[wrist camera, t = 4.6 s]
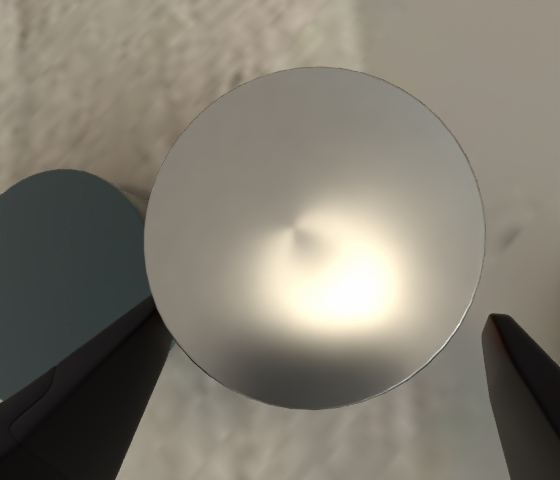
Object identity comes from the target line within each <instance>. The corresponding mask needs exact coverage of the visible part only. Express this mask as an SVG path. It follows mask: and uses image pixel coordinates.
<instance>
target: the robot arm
mask: <svg viewBox="0 0 560 480" xmlns="http://www.w3.org/2000/svg"><path fill="white" fill-rule="evenodd" d="M172 341H173V337H172V335H171V334H170V332H169V331H168V329H167V328H166V326H165V324H164V322H163V320H162V318H161V316H160V314H159V312H158V310H157V307H156V304H155V302H154V299H153V296H152V294H151V295H150V296H149V297H147V298H146V299H145V300H143V301H142V302H140V303H139V304H138V305H136V306H135V307H134V308H132V309H131V310H130V311H128V312H127V313H126V314H124V315H123V316H121V317H120V318H119V319H117V320H116V321H115V322H113V323H112V324H111V325H109V326H108V327H107V328H105V329H104V330H102V331H101V332H100V333H98V334H97V335H96V336H94V337H93V338H92V339H90V340H89V341H88V342H86V343H85V344H83V345H82V346H81V347H79V348H78V349H77V350H75V351H74V352H73V353H71V354H70V355H69V356H67V357H66V358H64V359H63V360H62V361H60V362H59V363H58V364H57V366H53V367H52V368H51V369H49V370H48V371H47V372H45V373H44V374H43V375H41V376H40V377H38V378H37V379H36V380H34V381H33V382H31V383H30V384H29V385H27V386H26V387H24V388H23V389H21V390H20V391H18V392H17V393H15V394H14V395H12V396H11V397H9V398H8V399H6V400H5V401H3V402H2V403H0V480H115V479H116V477H117V474H118V472H119V470H120V467H121V465H122V463H123V460H124V458H125V456H126V453H127V451H128V448H129V446H130V444H131V441H132V439H133V437H134V434H135V432H136V430H137V427H138V425H139V423H140V420H141V418H142V416H143V413H144V411H145V408H146V406H147V404H148V401H149V399H150V397H151V394H152V392H153V390H154V387H155V385H156V383H157V380H158V378H159V375H160V373H161V371H162V368H163V366H164V364H165V361H166V359H167V356H168V353H169V350H170V347H171V344H172ZM482 347H483V354H484V362H485V369H486V376H487V384H488V391H489V397H490V402H491V406H492V410H493V414H494V418H495V421H496V425H497V429H498V433H499V437H500V440H501V444H502V448H503V452H504V456H505V459H506V463H507V467H508V471H509V475H510V479H511V480H560V367H559V366H558V365H557V364H556V363H555V362H554V361H553V360H552V359H551V358H550V357H549V356H548V355H547V354H546V352H545V351H544V350H543V349H542V348H541V347H540V346H539V345H538V344H537V343H536V342H535V341H534V340H533V339H532V338H531V337H530V336H529V335H528V334H527V333H526V332H525V331H524V330H523V329H522V328H521V327H520V326H519V325H518V324H517V323H516V321H515V320H514V319H513V318H512V317H510V316H509V315H506V314H495V313H492V314H490V315H489V316H488V319H487V321H486V324H485V327H484V329H483V332H482Z"/></svg>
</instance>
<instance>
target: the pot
mask: <svg viewBox="0 0 560 480" xmlns="http://www.w3.org/2000/svg"><path fill="white" fill-rule="evenodd" d="M147 206H148V201H147V200H145V199H142V198H139V197H137V196H134V195H131V194H128V193H126V192H124V191H122V190H121V189H120V188H118V187H117V186H116V185H114V184H113V183H111V182H109V181H107V180H105V179H103V178H101V177H99V176H96V175H93V174H90V173H87V172H84V171H79V170H73V169H57V170H50V171H45V172H41V173H38V174H35V175H32V176H30V177H28V178H26V179H23V180H21V181H20V182H18V183H17V184H15V185H13V186H12V187H10V188H9V189H8V190H7V191H5V192H4V193H3V194H2V195H0V399H1V400H3V401H5V400H6V399H8V398H9V397H11V396H12V395H14V394H15V393H17V392H18V391H20V390H21V389H23V388H24V387H26V386H27V385H29V384H30V383H31V382H33V381H34V380H36V379H37V378H38V377H40V376H41V375H43V374H44V373H45V372H47V371H48V370H49V369H51V368H52V367H53V366H57V364H58V363H59V362H60V361H62V360H63V359H64V358H66V357H67V356H69V355H70V354H71V353H73V352H74V351H75V350H77V349H78V348H79V347H81V346H82V345H83V344H85V343H86V342H88V341H89V340H90V339H92V338H93V337H94V336H96V335H97V334H98V333H100V332H101V331H102V330H104V329H105V328H107V327H108V326H109V325H111V324H112V323H113V322H115V321H116V320H117V319H119V318H120V317H121V316H123V315H124V314H126V313H127V312H128V311H130V310H131V309H132V308H134V307H135V306H136V305H138V304H139V303H140V302H142V301H143V300H145V299H146V298H147V297H149V296H150V295H151V294H152V293H151V291H150V286H149V282H148V278H147V273H146V267H145V258H144V226H145V218H146V210H147ZM175 343H176V341H175V340H174V338H173V341H172V344H171V347H170V350H171V349H172V347H173V346H174V344H175ZM170 350H169V351H170Z"/></svg>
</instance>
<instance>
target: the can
mask: <svg viewBox="0 0 560 480" xmlns="http://www.w3.org/2000/svg"><path fill="white" fill-rule="evenodd" d="M485 240H486V225H485V216H484V207H483V201H482V197H481V193H480V190H479V186H478V182H477V179H476V176H475V174H474V172H473V169H472V167H471V165H470V162H469V160H468V158H467V156H466V154H465V153H464V151H463V149H462V148H461V146H460V144H459V143H458V141H457V139H456V138H455V136H454V135H453V134H452V133H451V131H450V130H449V129H448V128H447V127H446V125H445V124H444V123H443V122H442V121H441V119H440V118H439V117H438V116H437V115H435V114H434V113H433V112H432V111H431V110H430V109H429V108H428V107H427V106H426V105H425V104H423V103H422V102H421V101H419V100H418V99H416V98H415V97H413V96H412V95H411V94H409V93H408V92H406V91H405V90H403V89H401V88H399V87H397V86H395V85H393V84H391V83H389V82H387V81H385V80H383V79H380V78H377V77H374V76H371V75H368V74H365V73H362V72H357V71H352V70H347V69H343V68H331V67H306V68H295V69H290V70H284V71H278V72H275V73H272V74H269V75H265V76H262V77H259V78H256V79H254V80H252V81H250V82H247V83H245V84H243V85H240V86H238V87H237V88H235V89H233V90H232V91H230V92H228V93H227V94H225V95H223V96H222V97H220V98H219V99H218V100H216V101H215V102H214V103H212V104H211V105H210V106H208V107H207V108H206V109H205V110H204V111H203V112H202V113H200V114H199V115H198V116H197V117H196V118H195V119H194V120H193V121H192V122H191V123H190V124H189V126H188V127H187V128H186V129H185V130H184V132H183V133H182V134H181V135H180V136H179V138H178V139H177V140H176V142H175V144H174V145H173V147H172V148H171V150H170V151H169V153H168V154H167V156H166V158H165V160H164V162H163V164H162V166H161V168H160V170H159V172H158V174H157V177H156V180H155V182H154V185H153V188H152V190H151V194H150V198H149V202H148V206H147V210H146V218H145V226H144V258H145V267H146V273H147V278H148V282H149V286H150V291H151V293H152V296H153V299H154V302H155V304H156V307H157V310H158V312H159V314H160V316H161V318H162V320H163V322H164V324H165V326H166V328H167V329H168V331H169V332H170V334H171V335H172V337H173V338H174V340H175V341H176V342H177V344H178V345H179V347H180V348H181V349H182V350H183V351H184V352H185V353H186V354H187V356H188V357H189V358H190V359H191V360H192V361H193V362H194V363H195V364H196V365H197V366H198V367H200V368H201V369H202V370H203V371H204V372H205V373H206V374H208V375H209V376H210V377H212V378H213V379H215V380H216V381H218V382H219V383H221V384H222V385H224V386H225V387H227V388H229V389H231V390H233V391H235V392H237V393H239V394H241V395H243V396H245V397H247V398H250V399H253V400H256V401H259V402H262V403H265V404H268V405H273V406H278V407H284V408H289V409H304V410H321V409H331V408H340V407H344V406H349V405H353V404H357V403H361V402H364V401H367V400H369V399H372V398H374V397H377V396H380V395H382V394H385V393H387V392H389V391H390V390H392V389H394V388H396V387H397V386H399V385H401V384H403V383H404V382H406V381H408V380H409V379H410V378H412V377H413V376H414V375H415V374H417V373H418V372H419V371H421V370H422V369H423V368H424V367H426V366H427V365H428V364H429V363H430V362H431V361H432V360H433V359H434V358H435V357H436V356H437V355H438V354H439V353H440V352H441V351H442V350H443V349H444V347H445V346H446V345H447V344H448V342H449V341H450V339H451V338H452V337H453V335H454V334H455V332H456V331H457V330H458V328H459V327H460V325H461V323H462V321H463V320H464V318H465V316H466V314H467V312H468V310H469V308H470V306H471V304H472V302H473V299H474V296H475V293H476V290H477V287H478V284H479V281H480V278H481V272H482V267H483V262H484V256H485Z"/></svg>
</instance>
